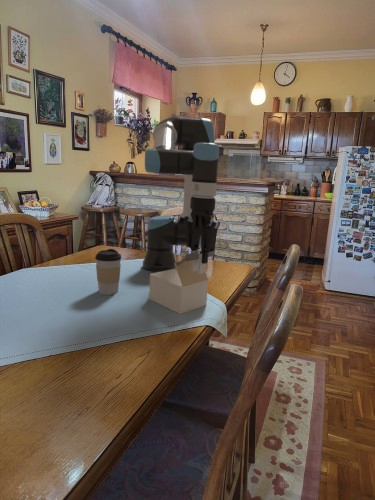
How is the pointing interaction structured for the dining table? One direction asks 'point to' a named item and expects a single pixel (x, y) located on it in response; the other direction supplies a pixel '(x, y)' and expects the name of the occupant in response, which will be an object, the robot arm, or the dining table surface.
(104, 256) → the coffee cup
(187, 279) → the drawer with bar handle
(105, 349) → the dining table surface
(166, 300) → the carton
